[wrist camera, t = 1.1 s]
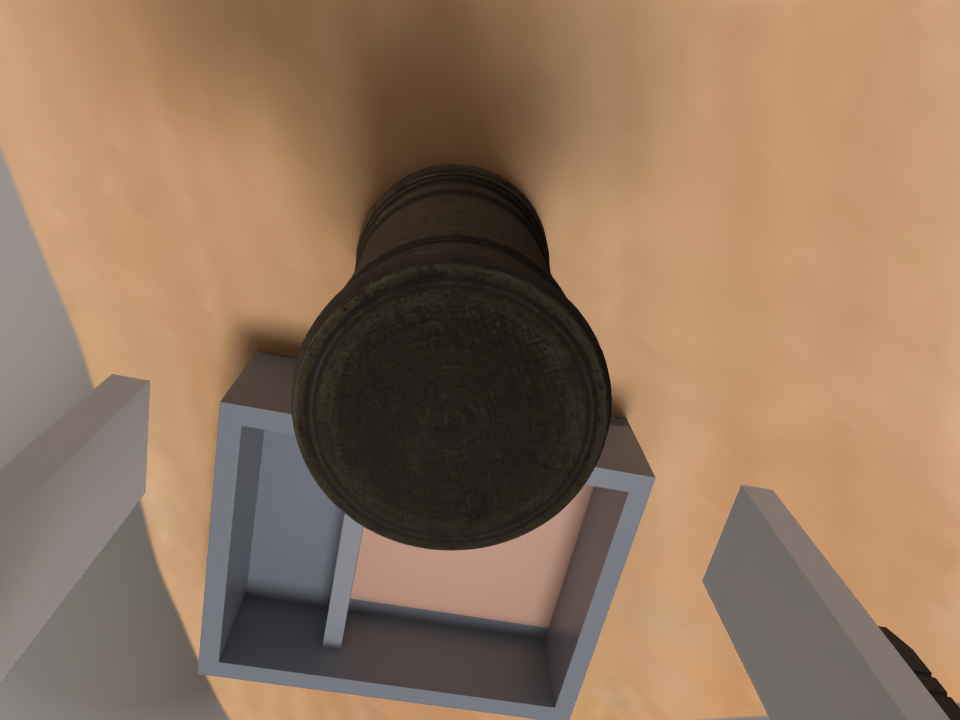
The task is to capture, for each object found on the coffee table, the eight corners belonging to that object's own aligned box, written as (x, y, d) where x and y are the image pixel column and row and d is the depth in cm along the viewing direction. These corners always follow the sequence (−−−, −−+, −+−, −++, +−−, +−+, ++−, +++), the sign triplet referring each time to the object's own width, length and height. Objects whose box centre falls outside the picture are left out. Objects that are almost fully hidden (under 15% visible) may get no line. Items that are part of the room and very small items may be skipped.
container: (324, 242, 34) (195, 403, 17) (467, 120, 32) (477, 168, 15) (442, 373, 37) (429, 620, 20) (581, 268, 35) (693, 445, 18)
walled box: (257, 351, 36) (220, 401, 30) (626, 419, 38) (655, 477, 32) (232, 594, 42) (197, 673, 36) (554, 641, 44) (568, 723, 38)
